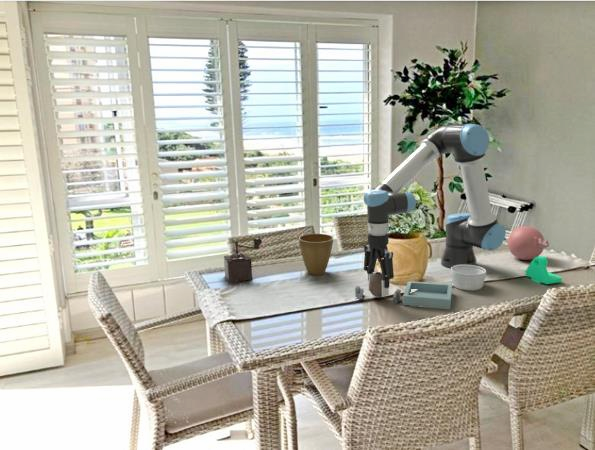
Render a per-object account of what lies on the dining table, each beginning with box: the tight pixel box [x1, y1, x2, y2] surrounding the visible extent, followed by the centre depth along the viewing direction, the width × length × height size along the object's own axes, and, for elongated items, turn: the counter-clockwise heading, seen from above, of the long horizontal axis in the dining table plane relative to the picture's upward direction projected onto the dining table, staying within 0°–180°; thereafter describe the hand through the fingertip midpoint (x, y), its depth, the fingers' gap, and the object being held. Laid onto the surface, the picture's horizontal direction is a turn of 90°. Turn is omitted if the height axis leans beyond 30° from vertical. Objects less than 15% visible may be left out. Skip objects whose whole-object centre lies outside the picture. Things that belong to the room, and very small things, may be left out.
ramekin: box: [450, 265, 487, 291], centre depth 201 cm, size 13×13×7 cm
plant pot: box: [298, 233, 334, 276], centre depth 222 cm, size 15×15×16 cm
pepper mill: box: [223, 237, 263, 283], centre depth 219 cm, size 16×11×18 cm
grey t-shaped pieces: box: [354, 285, 402, 305], centre depth 191 cm, size 6×17×4 cm, turn 72°
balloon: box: [507, 225, 550, 261], centre depth 229 cm, size 15×20×15 cm
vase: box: [368, 271, 384, 298], centre depth 190 cm, size 7×7×9 cm
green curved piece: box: [524, 255, 563, 285], centre depth 204 cm, size 12×8×10 cm, turn 16°
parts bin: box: [402, 280, 453, 310], centre depth 189 cm, size 16×16×4 cm
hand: (378, 292), depth 191 cm, fingers closed on vase, 7 cm apart
